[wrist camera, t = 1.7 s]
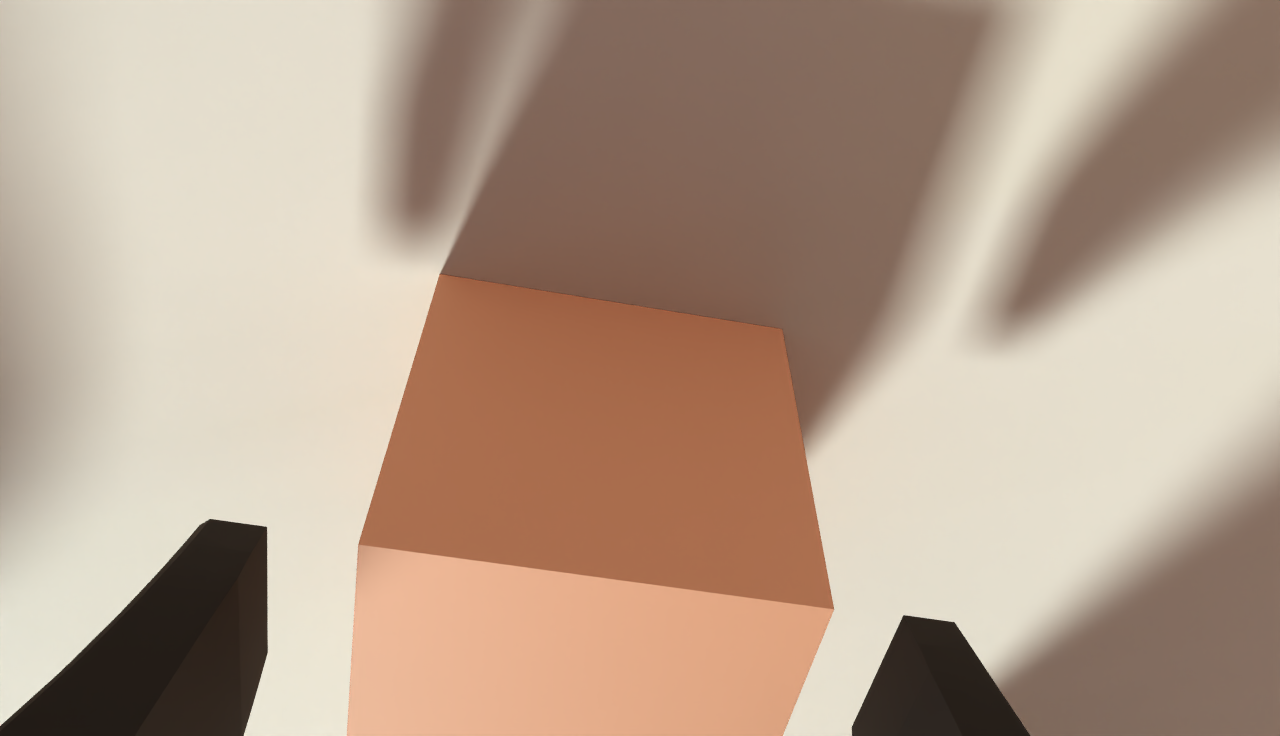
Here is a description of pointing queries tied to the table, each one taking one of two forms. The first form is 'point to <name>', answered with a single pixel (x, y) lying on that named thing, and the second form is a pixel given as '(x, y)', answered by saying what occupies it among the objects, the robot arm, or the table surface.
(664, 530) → the rust block
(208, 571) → the robot arm
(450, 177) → the table surface
